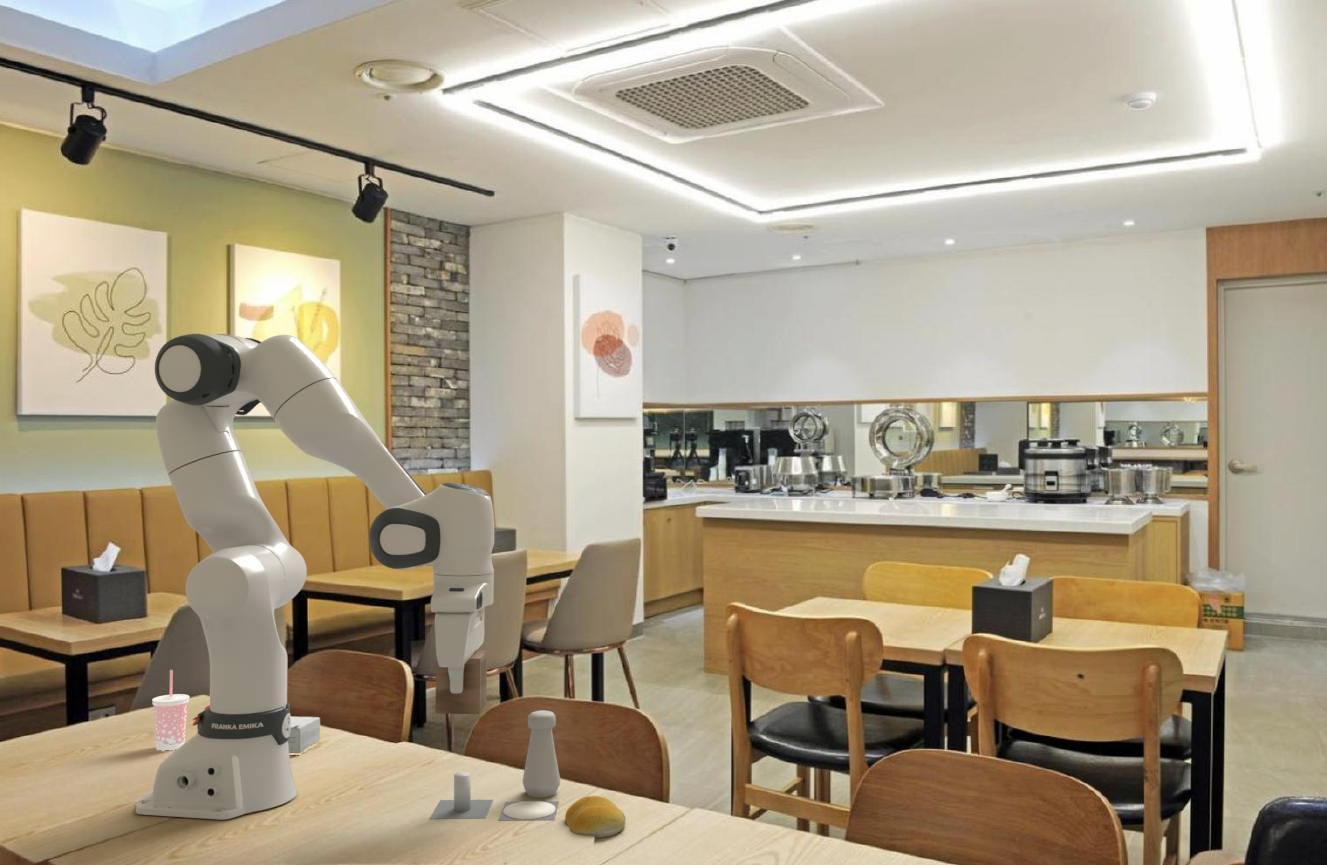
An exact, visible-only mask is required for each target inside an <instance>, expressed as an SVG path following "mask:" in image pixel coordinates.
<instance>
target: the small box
mask: <svg viewBox="0 0 1327 865" xmlns="http://www.w3.org/2000/svg"><path fill="white" fill-rule="evenodd" d="M319 740H320V741H321V717H318V716H317V717H316V716H291V728H290V736H289V739H288V747H289V753H301V752H303V751H304V750H305V749H306V748H308V747H309V746H312V745H313V744H315V743H316V742H318V741H319Z"/></svg>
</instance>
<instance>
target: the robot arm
mask: <svg viewBox="0 0 1327 865" xmlns="http://www.w3.org/2000/svg"><path fill="white" fill-rule="evenodd" d="M156 355H157V356H156V357H155V363H154V376H155V379H156V382H157V384H158V386H159V388H160V389H161V390H162V392H163V393H164V394H165V395H166V396H168V397H169V398H171V399H172V400H170V401H168V402H167V403H165V404H164V405H163V406H162V407H161V408H160V409H159V411H158V412H157V414H156V417H155V428H156V433H157V434H156V435H157V439H158V445H159V449H160V453H161V456H162V460H163V463H164V467H165V470H166V473H167V475H168V477H169V478H168V479H169V481H170V483H171V486H172V489H173V491H174V493H175V496H176V499H177V501H178V505H179V507H180V509H181V512H182V515H183V517H184V519H185V522H186V523H187V525H188V526H189V527H190V528H191V529H193V530H194V531H195V532H196V533H197V534H198V535H199V536H200V537H201V538H202V539H203V540H204V541H205V544H207V546H208V547H209V549H210V550H211V552H212V553H210V554H209V555H208V556H206V557H205V558H203V559H202V560H200V561H199V562H198V563H197V564H196V565H195V566H193V567H192V569H191V570H190V572H189V574H188V576H187V578H186V582H185V597H186V600H187V602H188V605H189V606H190V608H191V609H192V611H193V612H194V613H195V614H196V615H197V616H198V618H199V620H200V623H201V626H202V630H203V634H204V637H205V641H206V642H205V643H206V646H207V651H208V657H209V658H208V659H209V705H207V706H206V707H205V708H204V710H203V711H201V712H199V713H198V714H197V716H195V717H194V718H192V721H193V723H192V726H193V727H195V726H197V728H196V729H197V733H196V734H195V735H193V736H192V737H191V738H190V739H188V740H187V741H186V742H185V743H184V744H183V745H182V746H181V747H180V748H178V749H177V750H174V751H173V752H172V753H171V754H169V755H168V756H167V757H166V758H165V759H163V761H162V762H161V763H160V764H159V766H158V768H157V771H156V774H155V777H154V781H153V788H152V789H151V790H149V791H148V792H146V793H145V794H144V795H143V796H141V797H140V798H139V800H138V801H137V802H136V806H135V813H136V814H137V815H144V816H162V817H174V818H175V817H177V818H189V819H204V820H205V819H206V820H207V819H208V820H220V821H222V820H230V819H234V818H236V817H240V816H242V815H245V814H250V813H254V812H259V811H263V810H268V809H271V808H274V807H278V806H280V805H283V804H286V803H288V802H289V801H292V800H293V799H294V798H295V797H296V796H297V794H298V790H297V786H296V783H295V779H294V774H293V771H292V770H293V769H292V765H291V764H292V763H291V758H290V757H291V755H289V747H288V739H289V736H290V728H291V717H292V715H291V707H290V706H291V703H290V701H288V652H287V649H286V648H285V647H284V645H283V644H282V643H281V640H280V637H279V634H278V629H277V626H276V625H277V624H276V620H275V610H276V609H279V608H281V607H283V606H286V605H287V604H288V603H289V602H291V601H292V600H293V599H294V598H295V597H296V596H297V595H298V594H299V592H301V590H302V589H303V587H304V585H305V584H306V581H307V576H308V575H307V574H308V571H307V570H308V568H307V564H306V561H305V559H304V557H303V556H302V554H301V553H300V552H299V551H298V550H297V549H295V548H294V547H293V546H292V545H291V544H290V543H289V541H288V539H286V537H285V535H284V534H283V532H282V531H281V529H280V527H279V525H278V524H277V522H276V521H275V520H274V518H273V516H272V515H271V513H270V512H269V509H267V507H266V505H265V503H264V502H263V500H262V498H261V496H260V494H259V491H258V489H257V486H256V484H255V481H254V479H253V476H252V474H251V472H250V469H249V466H248V464H247V461H246V459H245V456H244V454H243V450H242V449H241V446H240V444H239V441H238V439H237V436H236V433H235V432H236V431H235V429H234V419H235V416H236V415H238V416H246V415H248V414H249V413H250V412H251V411H252V410H254V408H256V407H257V405H259V404H260V403H261V404H262V406H263V407H265V410H267V411H266V412H268V413H269V414H270V416H271V417H272V419H273V420H274V421H275V423H276V424H277V426H278V427H279V429H280V430H281V431H282V433H283V434H284V435H285V436H286V437H287V439H289V440H290V441H291V442H292V443H293V444H294V445H295V446H296V447H297V448H298V449H299V450H300V451H302V452H303V453H305V454H306V455H307V456H308V455H309V456H310V457H314V458H317V459H320V460H322V461H326V462H328V463H332V464H334V465H337V466H339V467H341V468H343V469H345V470H347V471H349V472H350V473H352V474H354V476H356V477H357V478H358V479H359V480H360V481H361V482H362V483H363V484H364V485H365V487H367V489H368V490H369V492H371V494H372V495H373V496H374V497H375V498H376V499H377V501H378V502H379V503H380V504H381V505H382V507H383V508H384V509H385V510H383V511H382V512H381V513H379V514H378V515H377V516H376V517H375V519H374V520H373V522H372V523H371V525H370V528H369V532H368V543H369V548H370V552H371V554H372V555H373V557H374V558H375V559H376V561H378V563H380V564H381V565H382V566H384V567H386V568H389V569H394V570H400V571H406V570H411V569H416V568H417V569H418V568H421V567H425V566H429V567H432V569H433V572H432V573H433V579H432V580H433V581H432V582H433V583H432V584H433V586H432V595H431V599H430V611H431V613H435V615H434V636H435V653H436V658H437V661H438V664H439V666H440V667H448V673H449V678H450V691H451V693H461V692H462V691H463V690H464V664H465V663H466V662H467V661H468V660H469V659H470V657H471V656H472V655H473V654H474V653H475V652H476V650H479V648H480V647H482V645H483V644H484V641H485V613H486V610H485V609H486V607H488V606H492V605H493V604H494V589H495V588H494V586H495V585H494V584H495V582H494V580H495V579H494V578H495V576H494V575H495V569H494V565H493V560H492V553H493V550H494V546H495V518H494V516H495V514H494V507H493V501H492V500H493V499H492V498H491V495H490V494H489V492H487V491H486V489H483V488H481V487H480V486H479V487H478V486H475V485H472V484H466V483H458V482H444V483H441V484H440V485H438V486H437V487H436V488H435V489H434V490H433V491H431V492H428V493H427V492H426V491H425V490H424V489H423V488H422V487H421V486H420V485H419V484H418V482H417V481H416V480H415V479H414V478H413V476H412V475H411V474H410V473H409V471H408V470H406V468H405V467H404V465H402V463H401V462H400V461H399V460H398V459H397V457H396V456H395V455H394V454H393V453H392V451H391V450H390V449H389V448H388V447H387V445H386V444H385V443H384V442H383V441H382V439H381V438H380V437H379V435H377V433H376V431H375V430H374V429H373V428H372V426H371V425H370V423H369V422H368V421H367V420H366V418H365V416H364V415H363V414H362V412H361V411H360V410H359V408H358V407H357V405H356V403H355V402H354V401H353V400H352V398H351V397H350V395H349V394H348V392H347V390H346V389H345V388H344V387H343V384H341V383H340V381H339V380H338V378H337V377H336V376H335V375H334V373H333V372H332V371H331V370H330V368H329V367H328V366H327V365H326V363H324V362H323V361H322V359H321V358H320V357H319V356H318V355H317V354H316V353H315V352H314V351H313V350H312V349H311V348H310V347H308V346H307V345H306V344H305V342H303V341H302V340H300V339H299V337H298V338H297V337H295V336H293V335H288V334H277V335H274V336H271V337H269V338H267V339H265V340H262V341H260V340H257V339H255V338H252V337H241V336H237V335H232V334H225V333H218V334H202V333H188V334H184V335H183V334H182V335H179V336H177V337H174V338H172V339H169V340H168V341H167V342H165V343H164V344H163V345H162V347H161V348H160V350H159V351H158V352H157V354H156Z"/></svg>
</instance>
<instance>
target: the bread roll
mask: <svg viewBox="0 0 1327 865" xmlns="http://www.w3.org/2000/svg"><path fill="white" fill-rule="evenodd" d="M564 819H565V823H566V824H567V826H569V828H570V830H571V831H572V832H573V833H576V834H581V835H582V834H584V835H594V839H595V838H596V839H600V838H609V837H611V836H615V835H616V834H618V833H619V832H622V830H624V828H626V827H625V826H626V815H625V813H624V812H623V810H621V809H620V808H618V806H617V805H616V804H615V803H614V802H613V801H611V800H610V799H609V798H606V797H602V796H599V795H589V796H588V795H587V796H584V797H582V798H580V799H578V800H576V801H575V802H573V804H571V805H570V807H568V809H567V810H566V813H565V818H564Z"/></svg>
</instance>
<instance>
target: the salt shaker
mask: <svg viewBox="0 0 1327 865" xmlns="http://www.w3.org/2000/svg"><path fill="white" fill-rule="evenodd" d="M556 724H557V719H556V714H555V713H554V712H553V711H550V710H535V711H532V712H531V713H530V714H528V718H527V725H528V728H529V729H531V731H530V736H529V742H528V748H527V753H526V754H527V755H526V760H525V764H524V771H523V777H522V785H523V788H524V790H525V793H526V794H527V795H528V796H529V797H530V798H536V799H537V798H541V799H544V798H550V797H552V796H555V794H557V791H558V788H559V787H560V785H561V776H560V771H559V765H558V759H557V755H556V750H555V749H556V748H555V741H554V736H553V728H555V727H556Z"/></svg>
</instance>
